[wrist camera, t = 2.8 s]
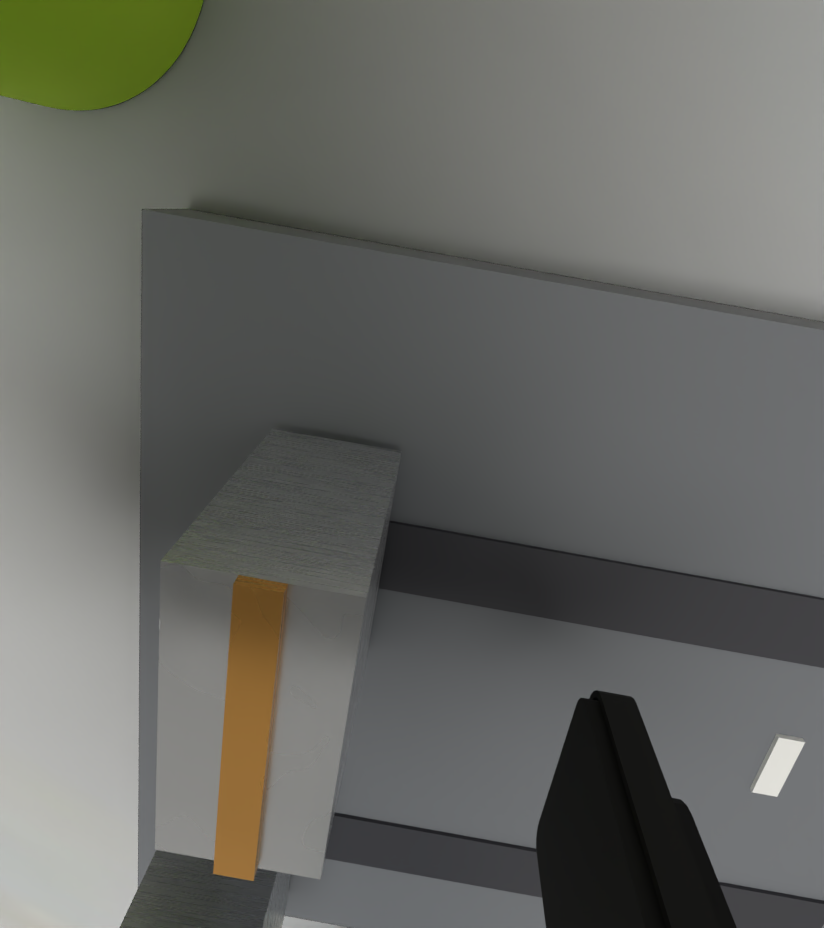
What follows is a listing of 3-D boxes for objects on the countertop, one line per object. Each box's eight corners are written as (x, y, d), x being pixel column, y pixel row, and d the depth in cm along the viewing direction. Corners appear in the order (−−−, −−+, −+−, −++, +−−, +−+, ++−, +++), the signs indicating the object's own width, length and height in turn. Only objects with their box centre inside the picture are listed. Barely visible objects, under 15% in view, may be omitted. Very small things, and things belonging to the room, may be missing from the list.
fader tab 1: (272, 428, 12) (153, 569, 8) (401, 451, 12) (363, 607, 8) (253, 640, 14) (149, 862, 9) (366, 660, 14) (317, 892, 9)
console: (186, 208, 13) (80, 209, 10) (1148, 379, 13) (1416, 447, 10) (167, 826, 20) (101, 966, 16) (805, 941, 20) (884, 1108, 16)
